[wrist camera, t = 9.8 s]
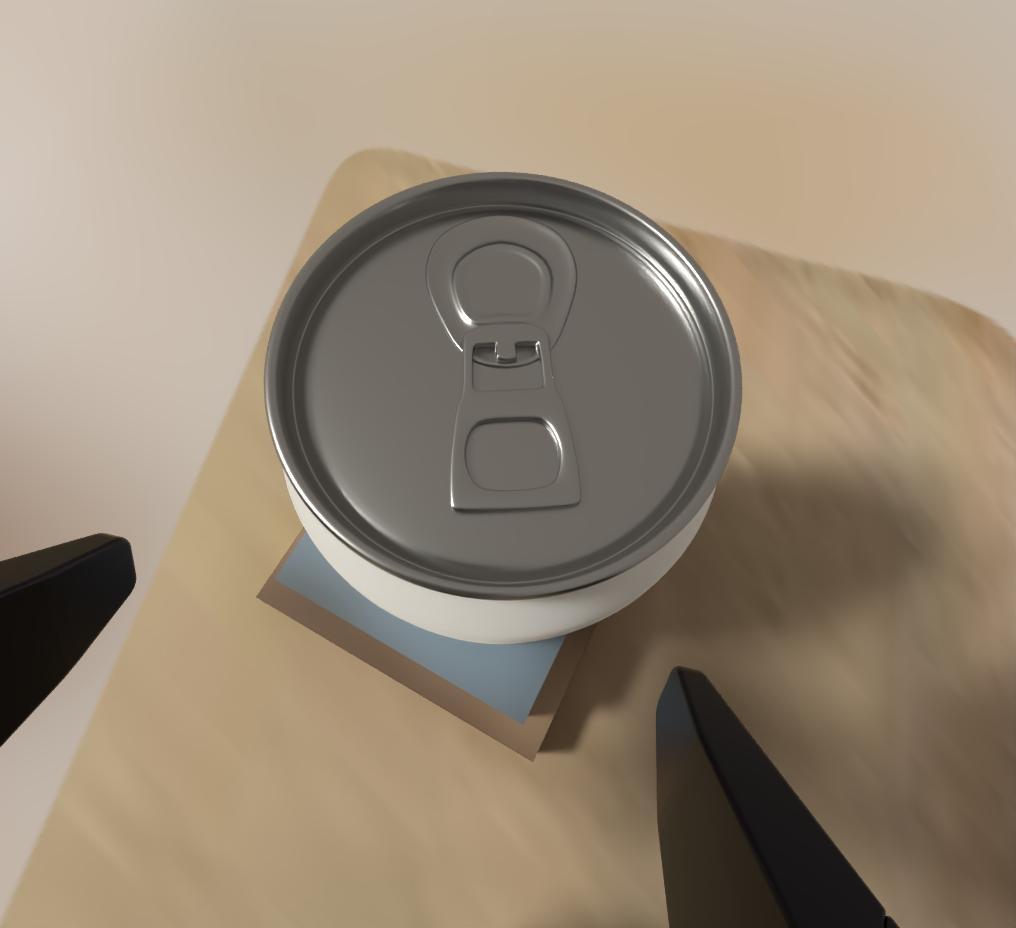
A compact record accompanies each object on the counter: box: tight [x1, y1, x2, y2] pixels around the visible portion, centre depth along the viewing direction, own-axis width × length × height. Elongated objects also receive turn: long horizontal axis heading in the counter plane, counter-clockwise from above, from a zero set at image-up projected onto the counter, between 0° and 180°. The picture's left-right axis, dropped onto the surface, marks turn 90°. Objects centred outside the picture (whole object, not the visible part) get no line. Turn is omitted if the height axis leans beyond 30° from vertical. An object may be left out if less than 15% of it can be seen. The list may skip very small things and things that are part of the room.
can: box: [264, 172, 742, 644], centre depth 12 cm, size 6×6×12 cm
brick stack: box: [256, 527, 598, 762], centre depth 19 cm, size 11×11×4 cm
